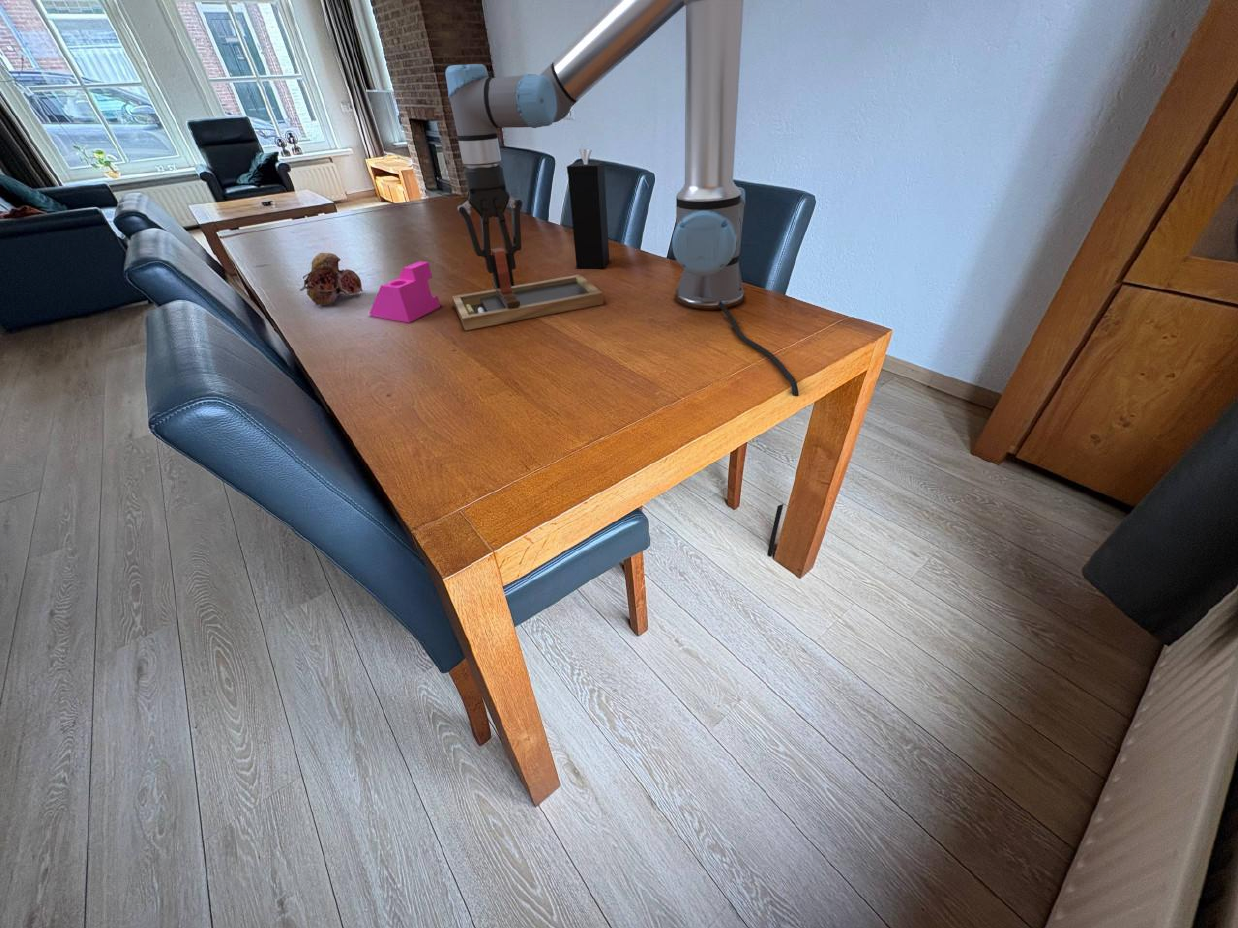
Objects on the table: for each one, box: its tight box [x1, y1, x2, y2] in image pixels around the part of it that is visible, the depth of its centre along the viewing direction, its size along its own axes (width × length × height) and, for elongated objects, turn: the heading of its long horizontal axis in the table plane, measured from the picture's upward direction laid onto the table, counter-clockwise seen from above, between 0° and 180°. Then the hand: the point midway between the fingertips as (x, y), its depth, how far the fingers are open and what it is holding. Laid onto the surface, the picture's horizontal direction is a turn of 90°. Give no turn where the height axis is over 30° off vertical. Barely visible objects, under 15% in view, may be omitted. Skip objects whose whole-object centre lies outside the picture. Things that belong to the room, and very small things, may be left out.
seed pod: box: [299, 252, 364, 306], centre depth 122 cm, size 13×16×15 cm
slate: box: [451, 274, 604, 331], centre depth 115 cm, size 16×32×3 cm, turn 113°
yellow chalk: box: [465, 304, 475, 315], centre depth 113 cm, size 5×1×1 cm
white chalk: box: [478, 307, 484, 313], centre depth 111 cm, size 5×1×1 cm
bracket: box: [369, 261, 441, 324], centre depth 113 cm, size 12×10×10 cm
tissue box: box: [566, 148, 610, 269], centre depth 131 cm, size 8×8×28 cm
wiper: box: [491, 247, 520, 308], centre depth 110 cm, size 15×3×11 cm, turn 23°
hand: (504, 285), depth 111 cm, fingers closed on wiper, 2 cm apart
